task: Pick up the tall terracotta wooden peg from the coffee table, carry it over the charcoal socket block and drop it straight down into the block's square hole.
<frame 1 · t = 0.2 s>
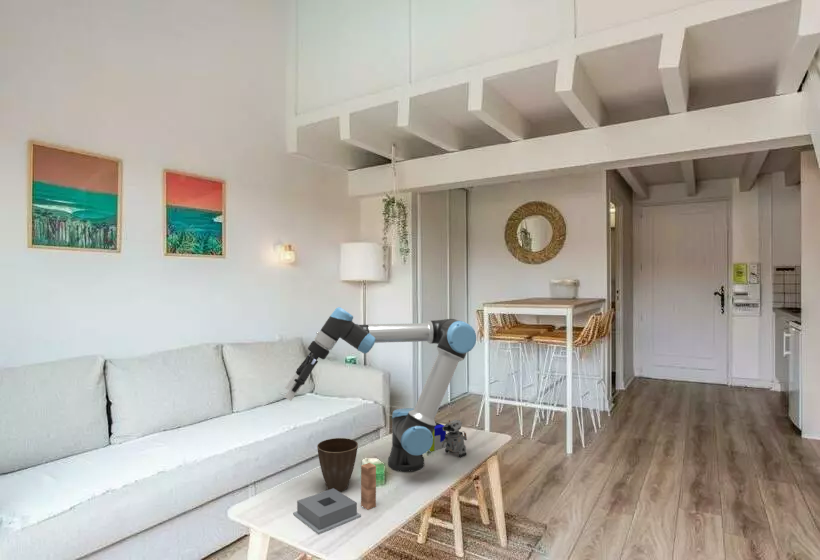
hand: (287, 394, 174), 36 cm above the table, tool tilted 35°, fingers open, 13 cm apart
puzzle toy: (430, 447, 219), on the table
socket block: (326, 515, 157), on the table
peg: (368, 506, 163), on the table
figurine: (452, 455, 209), on the table
plant pot: (337, 488, 177), on the table
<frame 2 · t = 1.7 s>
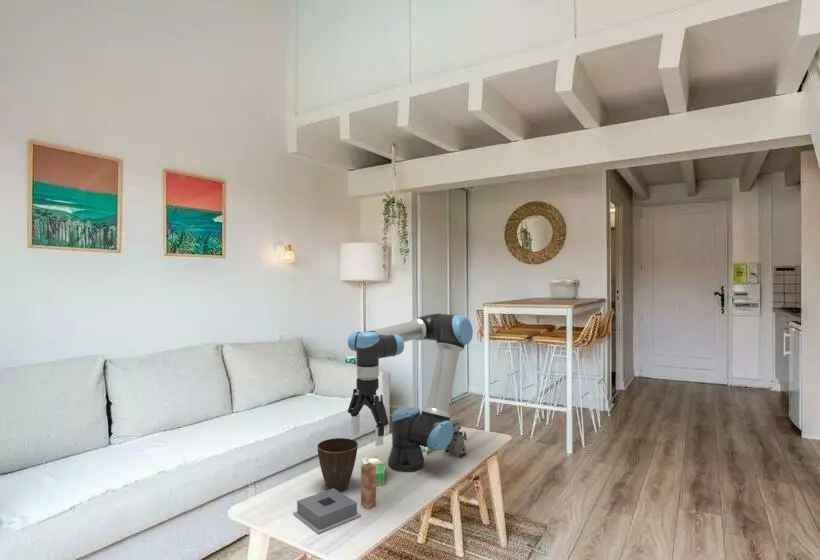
hand: (367, 439, 163), 23 cm above the table, tool pointing down, fingers open, 13 cm apart
nothing on the table moved.
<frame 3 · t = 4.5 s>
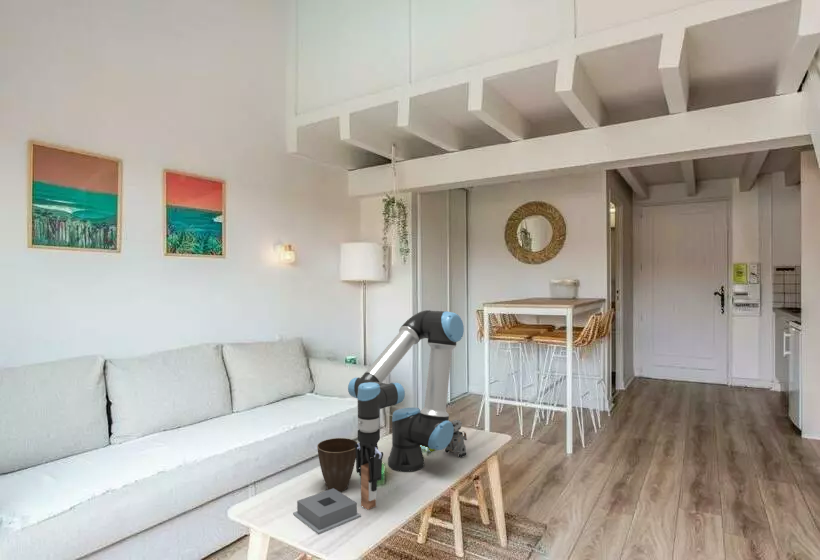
hand: (368, 497, 163), 3 cm above the table, tool pointing down, fingers closed on peg, 4 cm apart
peg: (368, 506, 163), on the table, touching gripper
everything else where it was.
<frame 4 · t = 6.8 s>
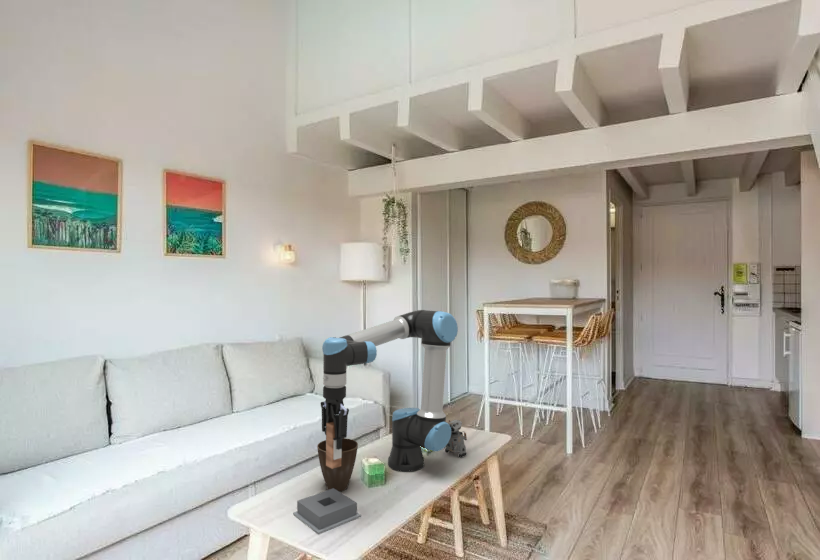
hand: (333, 456, 157), 19 cm above the table, tool pointing down, fingers closed on peg, 4 cm apart
peg: (333, 465, 157), point 16 cm above the table, touching gripper
everything else where it was.
when the fingers open (6 cm above the table, at t = 9.2 s): peg drops 2 cm, resting on socket block.
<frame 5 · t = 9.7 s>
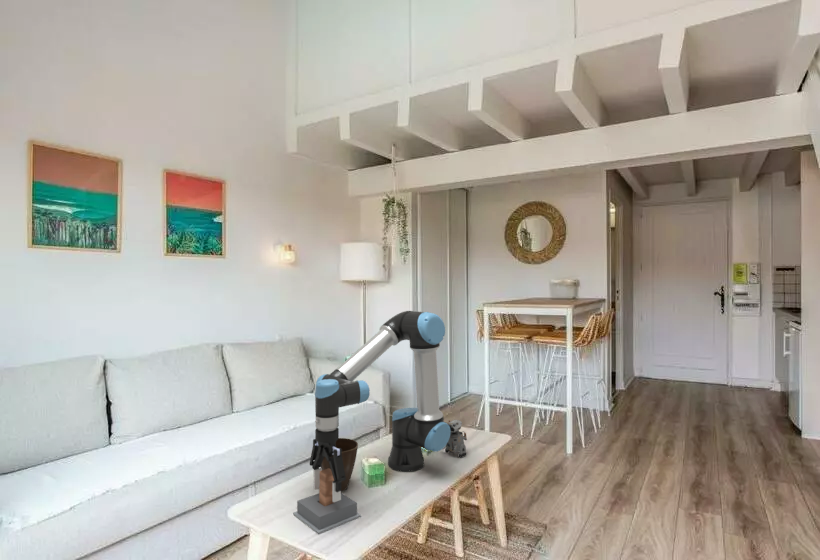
hand: (326, 494, 157), 7 cm above the table, tool pointing down, fingers open, 11 cm apart
peg: (326, 513, 157), point 1 cm above the table, touching socket block
everything else where it was.
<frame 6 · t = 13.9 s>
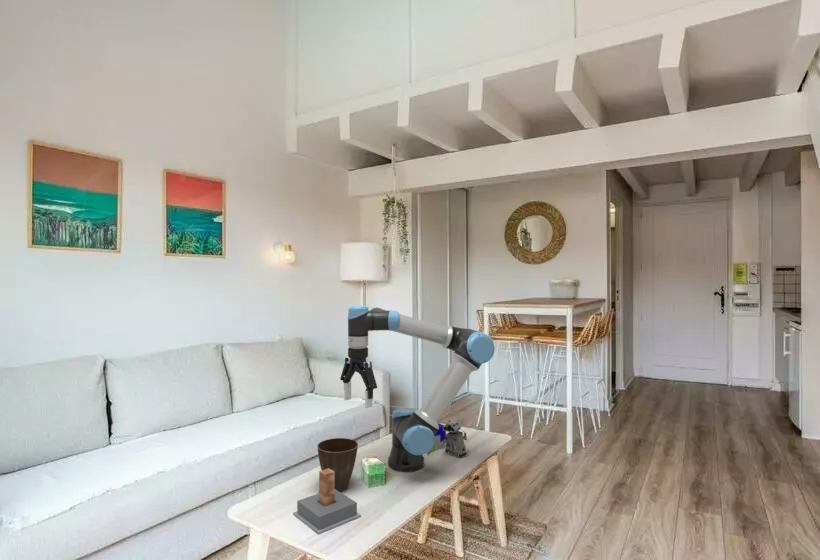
hand: (357, 403, 179), 31 cm above the table, tool pointing down, fingers open, 13 cm apart
nothing on the table moved.
at the end: peg 0.0 cm off-centre on the socket block, point 0.6 cm above the socket block's base; peg tilted 0°; the gripper is holding nothing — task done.
